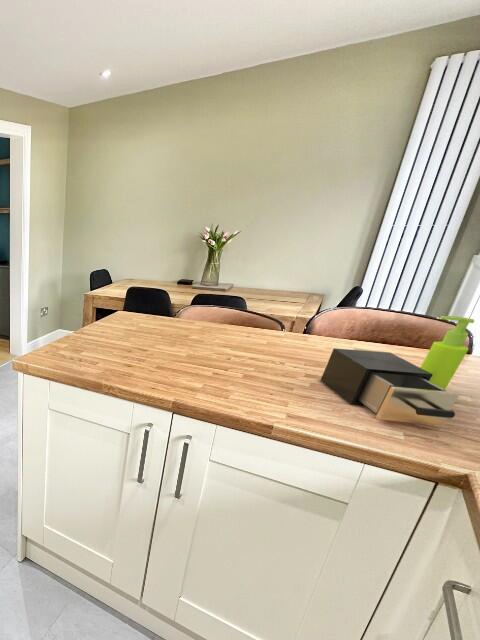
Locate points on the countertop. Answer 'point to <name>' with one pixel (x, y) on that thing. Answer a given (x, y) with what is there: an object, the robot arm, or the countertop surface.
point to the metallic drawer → (407, 399)
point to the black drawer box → (363, 370)
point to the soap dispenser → (447, 353)
